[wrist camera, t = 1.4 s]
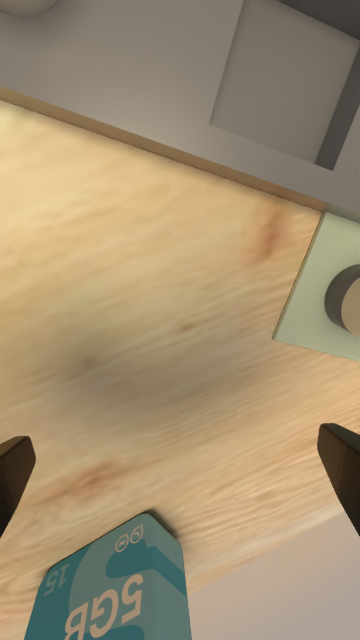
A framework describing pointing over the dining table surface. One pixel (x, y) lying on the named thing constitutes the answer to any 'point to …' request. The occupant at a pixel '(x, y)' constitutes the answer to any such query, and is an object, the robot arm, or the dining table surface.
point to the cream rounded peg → (345, 299)
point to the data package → (116, 589)
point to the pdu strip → (203, 84)
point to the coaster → (321, 291)
